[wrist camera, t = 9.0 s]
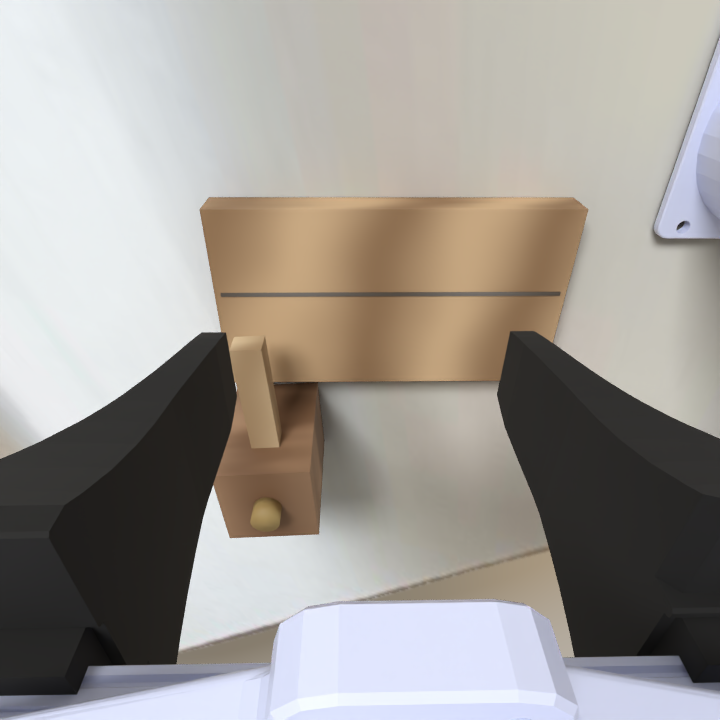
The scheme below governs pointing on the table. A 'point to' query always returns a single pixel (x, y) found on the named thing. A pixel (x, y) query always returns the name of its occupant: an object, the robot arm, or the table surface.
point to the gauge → (270, 451)
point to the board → (389, 281)
